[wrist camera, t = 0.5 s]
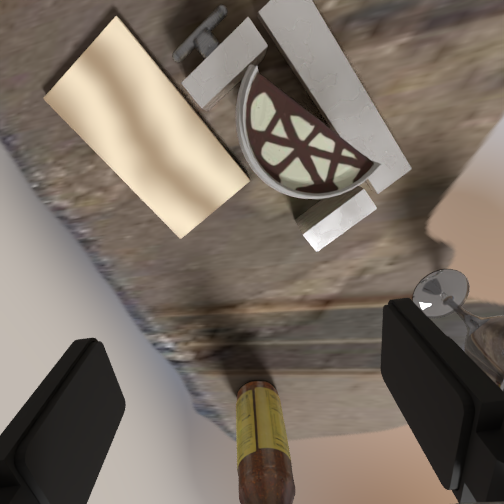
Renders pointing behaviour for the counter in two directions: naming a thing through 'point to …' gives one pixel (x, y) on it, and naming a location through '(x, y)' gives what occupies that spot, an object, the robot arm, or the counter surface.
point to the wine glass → (464, 319)
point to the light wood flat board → (146, 130)
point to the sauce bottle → (262, 447)
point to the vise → (318, 88)
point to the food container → (294, 144)
